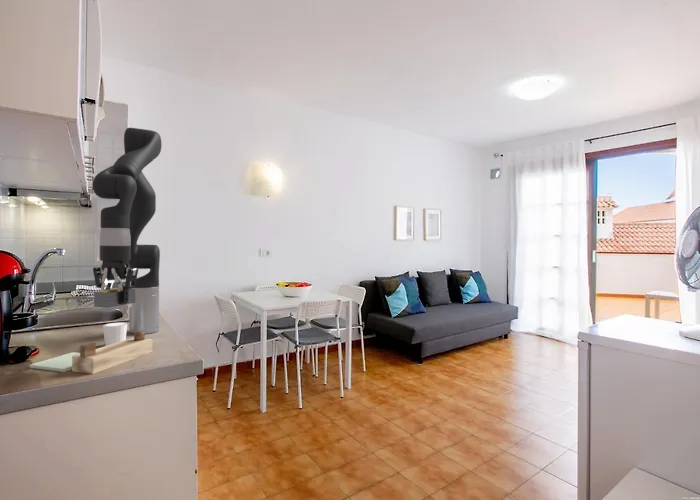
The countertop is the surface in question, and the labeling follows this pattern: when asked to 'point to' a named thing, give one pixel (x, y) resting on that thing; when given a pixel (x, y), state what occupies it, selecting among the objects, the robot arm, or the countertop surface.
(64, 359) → the mat
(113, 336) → the white cup
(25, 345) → the countertop surface
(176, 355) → the countertop surface
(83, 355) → the body
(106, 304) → the dark gray block
